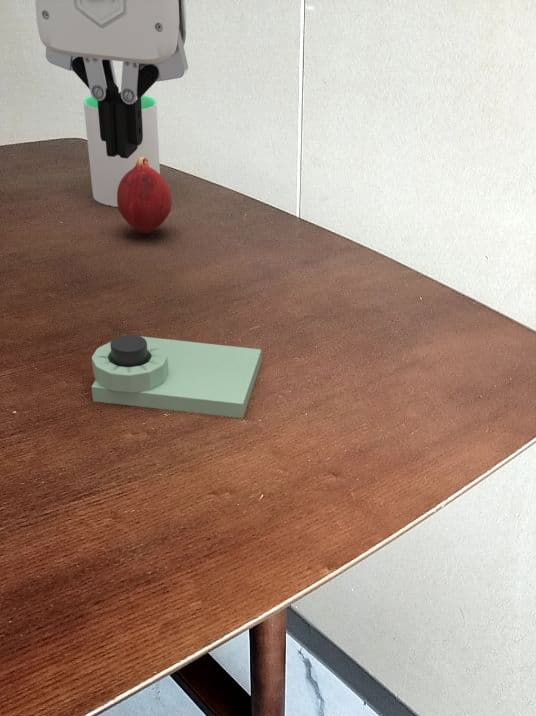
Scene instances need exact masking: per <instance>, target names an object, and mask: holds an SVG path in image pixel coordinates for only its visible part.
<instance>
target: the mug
mask: <svg viewBox="0 0 536 716" xmlns="http://www.w3.org/2000/svg"><path fill="white" fill-rule="evenodd" d="M120 92H121V91H119V93H120ZM157 106H158V105H157V100H156V99H155V98H153V97H151V96H149V95H146V94H144V95H143V96H142V97H141V107H142V127H143V139H142V143H141V144H140V145H138V148H137V150H136V151H135V152H134V153H133V154H132V155H131V156H130V157H129V158H121V157H120V156H119V155H116V156H115V157H110V156H107V151H106V141H102V140H101V137H100V126H99V113H98V101H97V100H95V99H94V98H93V97H92V95H91V94H90V95H87V96H86V97H84V99H83V111H84V120H85V129H86V130H85V131H86V139H87V148H88V149H87V151H88V160H89V161H88V162H89V170H90V179H91V180H90V182H91V191H92V198H93V200H95V201H96V202H97V203H100V204H102V205H105V206H109V205H110V206H109V207H115V208H116V207H117V208H118V204H117V191H118V186H119V184H120V181H121V180H122V178H123V177H124V176H125V174H126V173H128V172H129V171H130V170H132V169H133V168H134V167H135V166H136V163H137V160H138V158H140V157H142V156H143V157H145V158H146V159H148V165H149V167H151V168H152V169H154V170H155V171H157V172H158V173H159V174H160V175H161V168H160V149H159V148H160V147H159V127H158V107H157Z"/></svg>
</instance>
